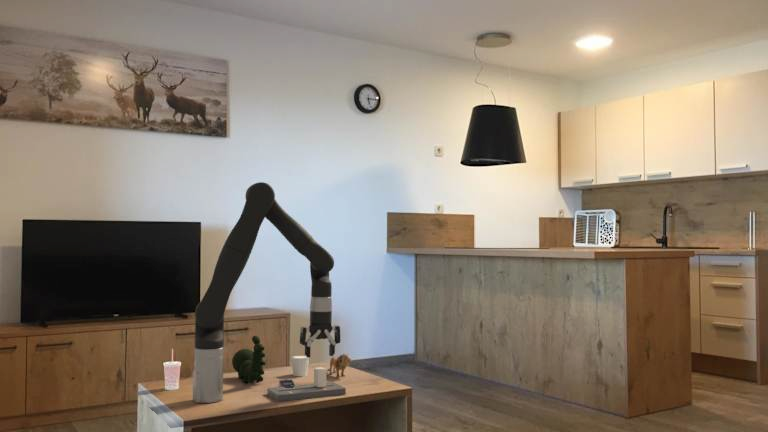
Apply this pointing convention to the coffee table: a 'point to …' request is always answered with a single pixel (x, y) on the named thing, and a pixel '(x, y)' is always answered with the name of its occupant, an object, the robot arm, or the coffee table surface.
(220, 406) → the coffee table surface
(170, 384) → the beverage cup
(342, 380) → the coffee table surface
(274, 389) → the console
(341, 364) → the lion figurine
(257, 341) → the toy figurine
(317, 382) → the cylinder
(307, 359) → the white cup
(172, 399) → the coffee table surface
